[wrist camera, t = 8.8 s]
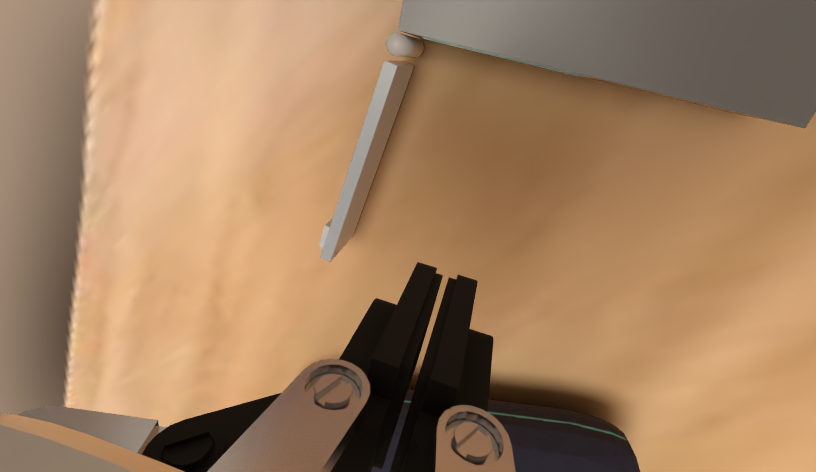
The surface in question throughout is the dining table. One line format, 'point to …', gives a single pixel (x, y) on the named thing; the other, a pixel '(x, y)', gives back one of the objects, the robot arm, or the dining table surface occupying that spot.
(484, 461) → the robot arm
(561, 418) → the portable speaker
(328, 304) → the dining table surface
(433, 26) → the camera body
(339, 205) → the thin grey plank
